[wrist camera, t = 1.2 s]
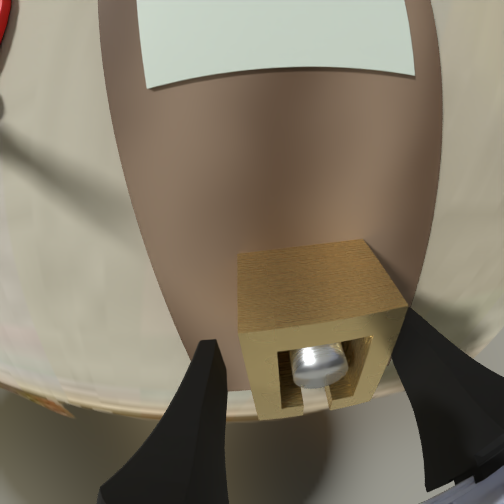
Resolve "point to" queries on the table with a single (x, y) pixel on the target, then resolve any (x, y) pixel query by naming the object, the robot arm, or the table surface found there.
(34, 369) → the table surface
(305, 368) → the steel post
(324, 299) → the wooden box
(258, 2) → the sage pad
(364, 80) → the stand board
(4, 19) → the tow hook
